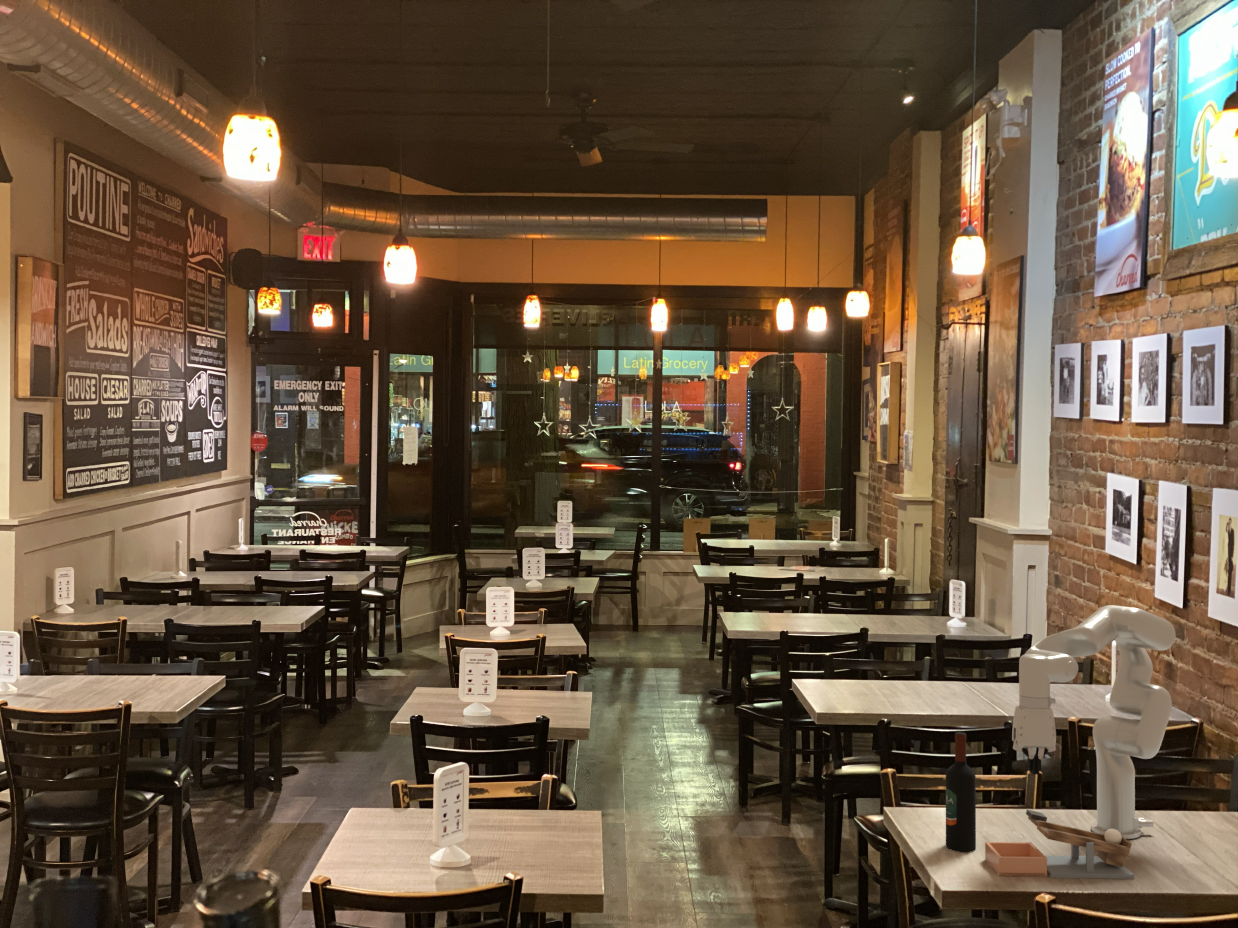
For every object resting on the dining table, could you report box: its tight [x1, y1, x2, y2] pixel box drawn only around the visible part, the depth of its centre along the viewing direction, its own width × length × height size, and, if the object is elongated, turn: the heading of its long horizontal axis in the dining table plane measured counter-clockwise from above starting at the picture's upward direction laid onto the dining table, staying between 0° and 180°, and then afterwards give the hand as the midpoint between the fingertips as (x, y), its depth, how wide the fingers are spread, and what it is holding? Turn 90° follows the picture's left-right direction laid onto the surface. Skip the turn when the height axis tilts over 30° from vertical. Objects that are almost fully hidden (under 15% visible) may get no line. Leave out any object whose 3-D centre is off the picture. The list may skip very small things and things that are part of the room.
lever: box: [1025, 809, 1132, 867], centre depth 283 cm, size 20×17×6 cm
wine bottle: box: [945, 731, 977, 853], centre depth 294 cm, size 8×8×30 cm
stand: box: [1043, 842, 1135, 880], centre depth 278 cm, size 20×13×8 cm, turn 88°
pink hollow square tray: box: [984, 841, 1048, 878], centre depth 279 cm, size 12×12×4 cm
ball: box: [1104, 829, 1122, 845], centre depth 278 cm, size 4×4×4 cm
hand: (1034, 773), depth 289 cm, fingers closed
